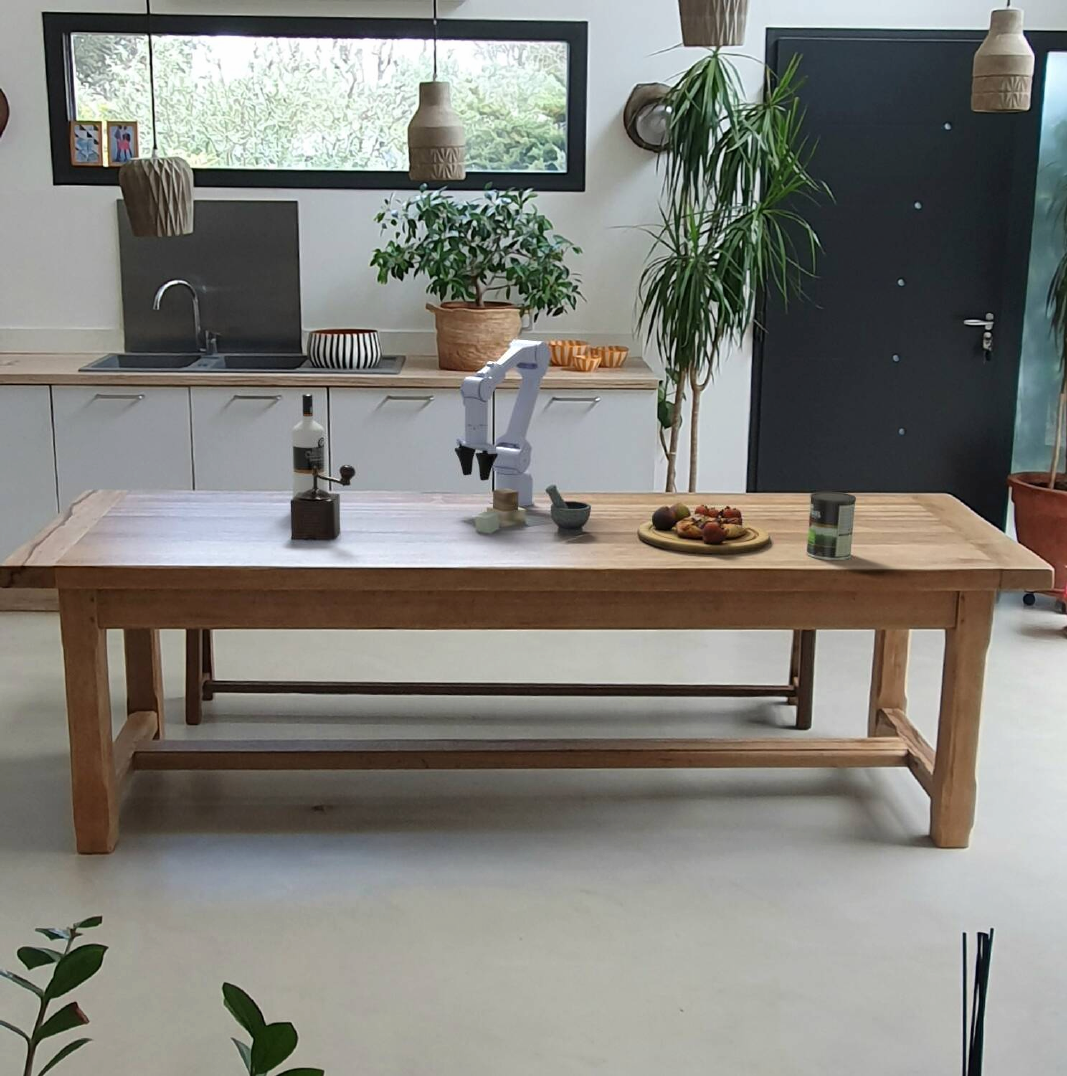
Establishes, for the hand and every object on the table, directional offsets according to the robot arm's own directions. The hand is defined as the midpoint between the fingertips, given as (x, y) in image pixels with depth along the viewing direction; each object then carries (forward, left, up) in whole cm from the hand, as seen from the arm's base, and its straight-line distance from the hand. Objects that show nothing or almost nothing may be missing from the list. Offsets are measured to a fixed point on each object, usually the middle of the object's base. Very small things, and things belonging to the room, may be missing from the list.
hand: (475, 477), depth 343 cm
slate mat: (-2, +11, -10) cm, 15 cm away
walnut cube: (-1, +12, -6) cm, 13 cm away
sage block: (+7, +16, -10) cm, 20 cm away
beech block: (-2, +11, -10) cm, 15 cm away
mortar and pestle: (-9, +27, -10) cm, 30 cm away
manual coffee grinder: (+42, -1, -10) cm, 44 cm away
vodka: (+33, -27, -10) cm, 44 cm away
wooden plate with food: (-33, +49, -11) cm, 60 cm away
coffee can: (-48, +76, -10) cm, 91 cm away
